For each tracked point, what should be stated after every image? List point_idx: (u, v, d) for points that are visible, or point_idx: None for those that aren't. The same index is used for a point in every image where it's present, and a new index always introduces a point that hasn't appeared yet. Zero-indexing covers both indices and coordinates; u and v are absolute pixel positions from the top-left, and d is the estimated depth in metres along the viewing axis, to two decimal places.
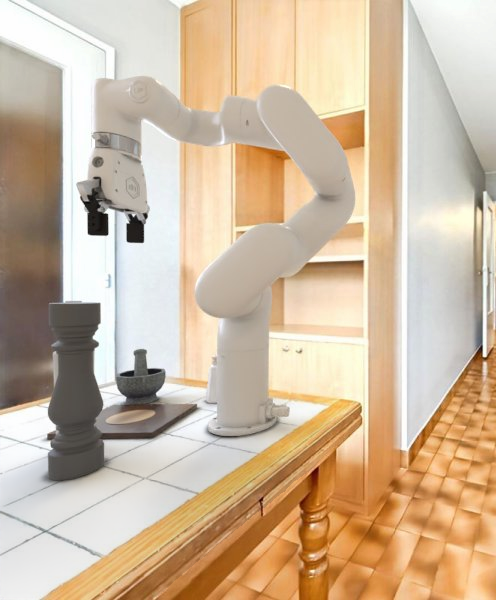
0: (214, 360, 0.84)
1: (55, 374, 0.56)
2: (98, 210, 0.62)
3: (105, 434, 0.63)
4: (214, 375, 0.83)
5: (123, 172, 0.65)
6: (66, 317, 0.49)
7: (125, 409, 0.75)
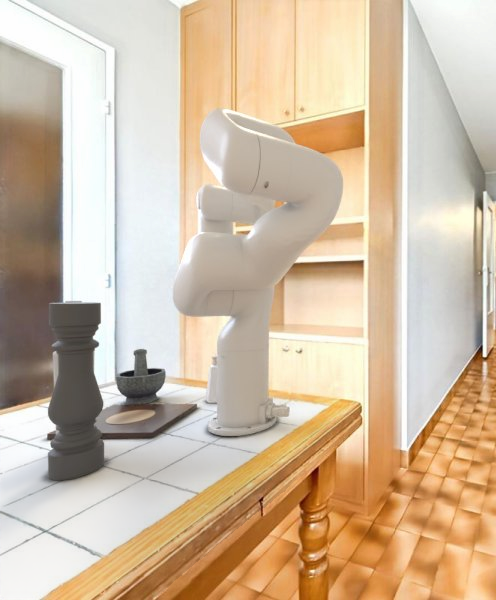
0: (214, 360, 0.84)
1: (55, 374, 0.56)
2: None
3: (105, 434, 0.63)
4: (214, 375, 0.83)
5: None
6: (66, 317, 0.49)
7: (125, 409, 0.75)
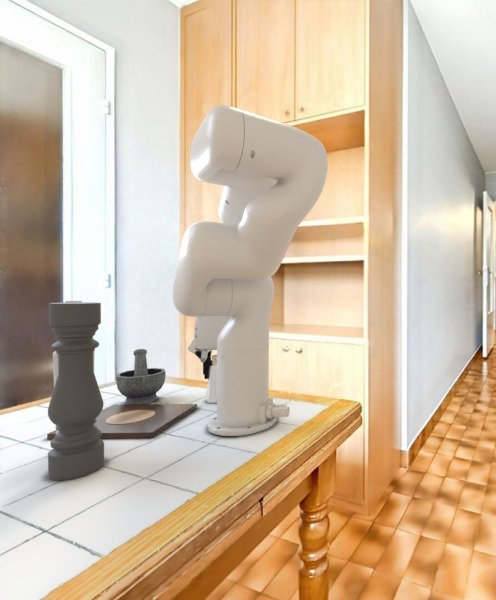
0: (214, 360, 0.84)
1: (55, 374, 0.56)
2: None
3: (105, 434, 0.63)
4: (214, 375, 0.83)
5: None
6: (66, 317, 0.49)
7: (125, 409, 0.75)
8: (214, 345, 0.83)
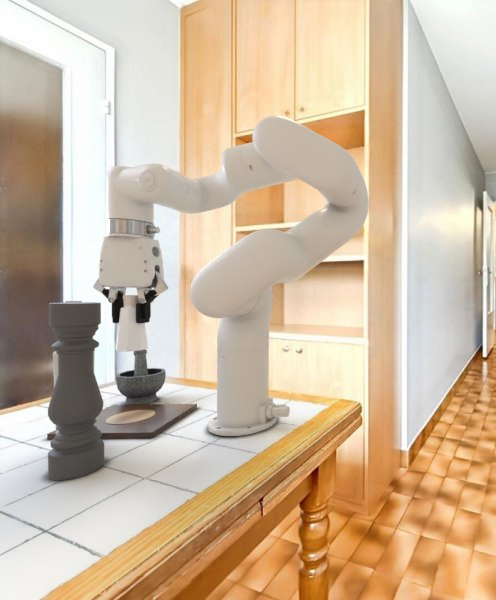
0: (125, 300, 0.69)
1: (55, 374, 0.56)
2: (151, 302, 0.71)
3: (105, 434, 0.63)
4: (124, 318, 0.69)
5: None
6: (66, 317, 0.49)
7: (125, 409, 0.75)
8: (124, 282, 0.68)
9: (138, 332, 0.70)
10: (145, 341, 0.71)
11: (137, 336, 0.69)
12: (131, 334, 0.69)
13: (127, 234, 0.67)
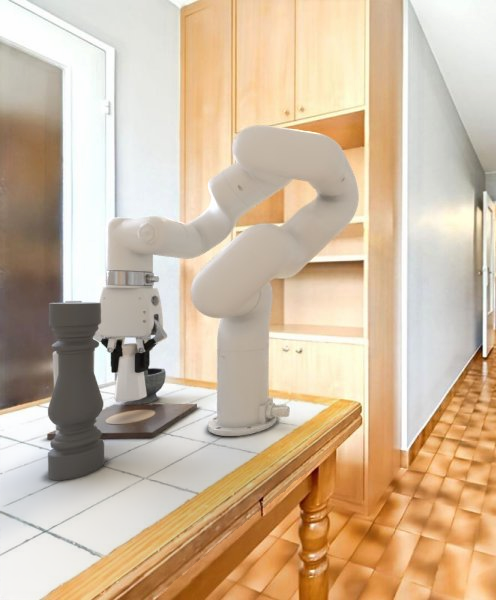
0: (124, 350, 0.69)
1: (55, 375, 0.56)
2: (150, 350, 0.72)
3: (105, 434, 0.63)
4: (123, 368, 0.69)
5: None
6: (66, 317, 0.49)
7: (125, 409, 0.75)
8: (123, 332, 0.68)
9: (137, 381, 0.70)
10: (144, 389, 0.71)
11: (136, 386, 0.69)
12: (130, 384, 0.69)
13: (126, 285, 0.67)
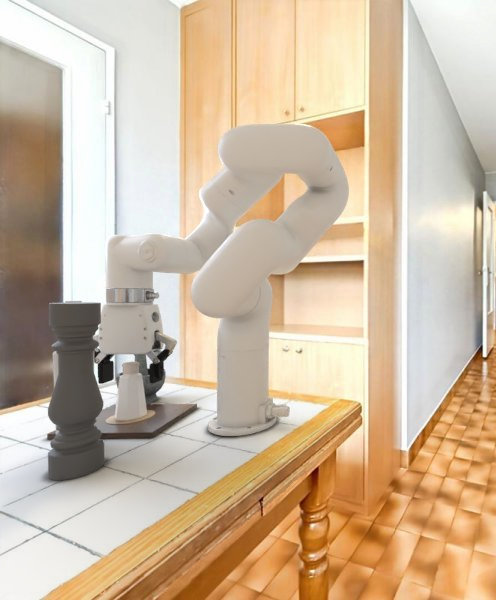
0: (124, 369, 0.69)
1: (55, 375, 0.56)
2: (165, 359, 0.72)
3: (105, 434, 0.63)
4: (124, 387, 0.69)
5: None
6: (66, 317, 0.49)
7: None
8: (124, 349, 0.68)
9: (137, 400, 0.70)
10: (144, 407, 0.71)
11: (136, 404, 0.70)
12: (130, 403, 0.69)
13: (127, 303, 0.67)
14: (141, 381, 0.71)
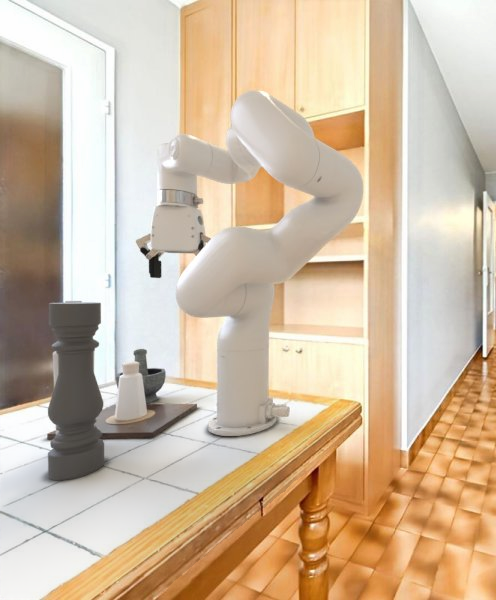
0: (124, 369, 0.69)
1: (55, 375, 0.56)
2: None
3: (105, 434, 0.63)
4: (124, 387, 0.69)
5: None
6: (66, 317, 0.49)
7: None
8: (173, 246, 0.77)
9: (137, 400, 0.70)
10: (144, 407, 0.71)
11: (136, 404, 0.70)
12: (130, 403, 0.69)
13: (177, 203, 0.75)
14: (141, 381, 0.71)
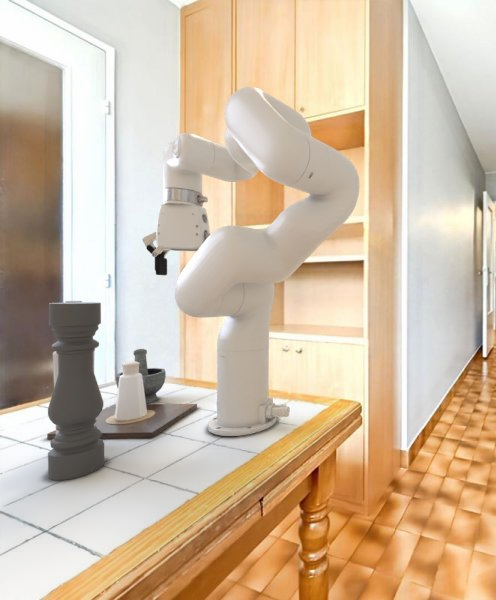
0: (124, 369, 0.69)
1: (55, 374, 0.56)
2: None
3: (105, 434, 0.63)
4: (124, 387, 0.69)
5: None
6: (66, 317, 0.49)
7: None
8: (178, 244, 0.78)
9: (137, 400, 0.70)
10: (144, 407, 0.71)
11: (136, 404, 0.70)
12: (130, 403, 0.69)
13: (182, 201, 0.77)
14: (141, 381, 0.71)
